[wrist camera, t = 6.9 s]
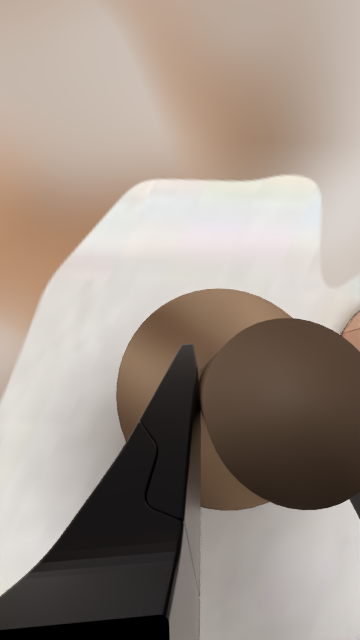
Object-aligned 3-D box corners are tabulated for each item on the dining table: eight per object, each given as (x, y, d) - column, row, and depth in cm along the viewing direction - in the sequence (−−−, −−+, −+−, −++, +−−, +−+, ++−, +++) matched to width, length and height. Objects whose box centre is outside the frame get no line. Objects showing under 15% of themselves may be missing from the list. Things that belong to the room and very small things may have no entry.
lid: (240, 552, 13) (520, 1520, 2) (82, 400, 15) (-200, 452, 4) (357, 373, 15) (827, 354, 4) (202, 262, 17) (223, 52, 6)
